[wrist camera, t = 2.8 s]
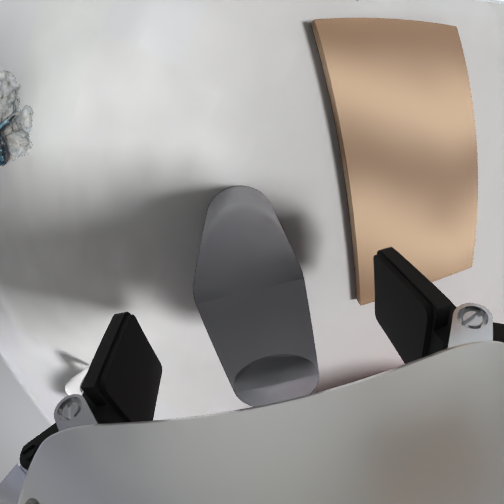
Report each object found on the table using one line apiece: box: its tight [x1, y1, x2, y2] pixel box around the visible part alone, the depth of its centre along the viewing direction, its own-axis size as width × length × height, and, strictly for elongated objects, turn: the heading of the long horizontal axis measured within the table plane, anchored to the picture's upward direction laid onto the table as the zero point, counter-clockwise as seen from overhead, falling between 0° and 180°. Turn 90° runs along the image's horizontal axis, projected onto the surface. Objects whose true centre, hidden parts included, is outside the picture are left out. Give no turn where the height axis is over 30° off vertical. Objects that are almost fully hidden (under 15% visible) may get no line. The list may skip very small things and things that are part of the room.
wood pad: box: [311, 18, 478, 305], centre depth 13 cm, size 14×8×1 cm, turn 13°
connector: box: [193, 186, 319, 407], centre depth 12 cm, size 9×3×6 cm, turn 13°
